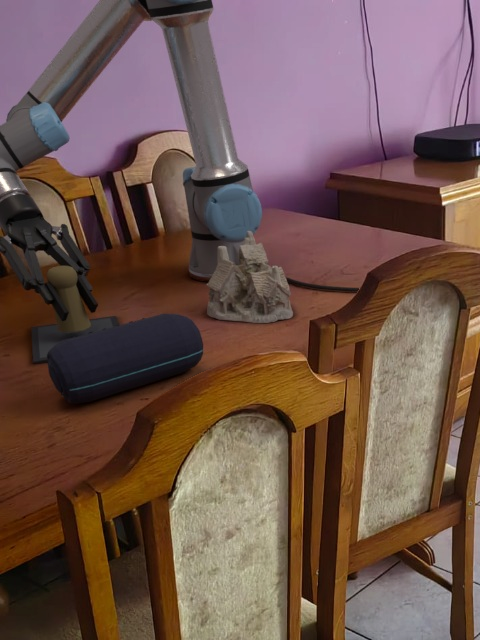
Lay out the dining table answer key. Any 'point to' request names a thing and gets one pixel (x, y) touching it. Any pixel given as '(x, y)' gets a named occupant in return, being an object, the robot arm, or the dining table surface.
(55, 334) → the tablet computer
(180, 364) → the portable speaker
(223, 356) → the dining table surface
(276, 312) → the ceramic cottage
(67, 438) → the dining table surface
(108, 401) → the dining table surface
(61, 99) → the robot arm
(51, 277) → the cork
